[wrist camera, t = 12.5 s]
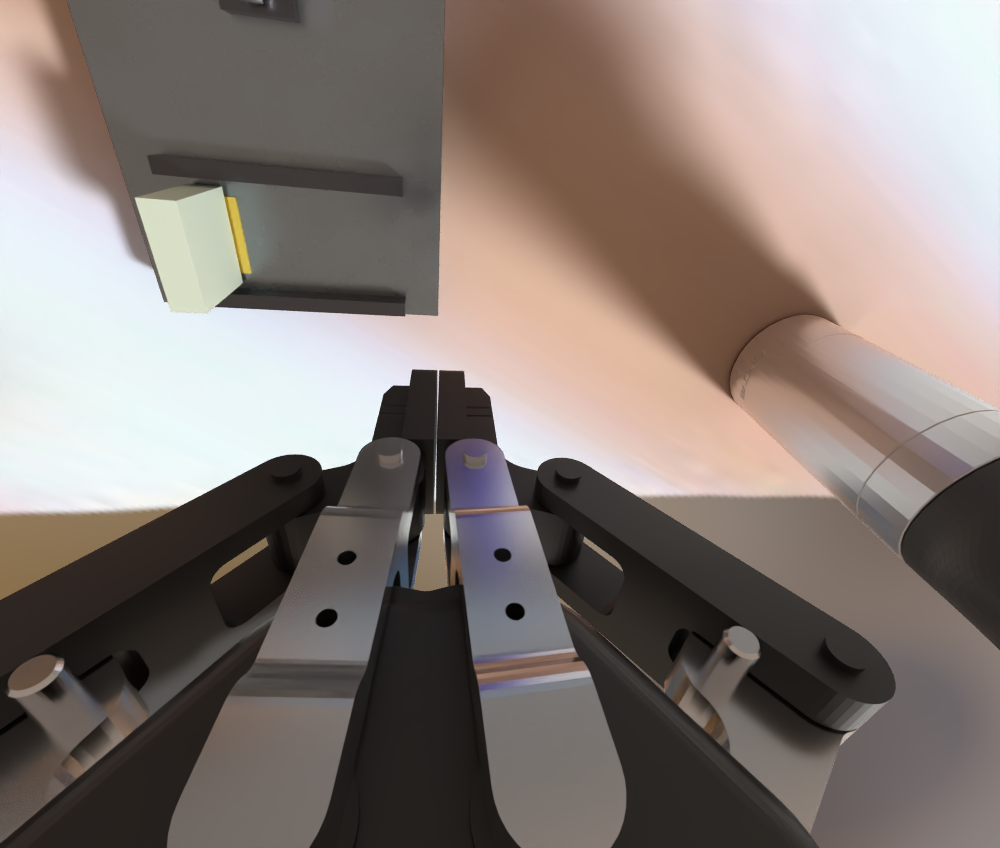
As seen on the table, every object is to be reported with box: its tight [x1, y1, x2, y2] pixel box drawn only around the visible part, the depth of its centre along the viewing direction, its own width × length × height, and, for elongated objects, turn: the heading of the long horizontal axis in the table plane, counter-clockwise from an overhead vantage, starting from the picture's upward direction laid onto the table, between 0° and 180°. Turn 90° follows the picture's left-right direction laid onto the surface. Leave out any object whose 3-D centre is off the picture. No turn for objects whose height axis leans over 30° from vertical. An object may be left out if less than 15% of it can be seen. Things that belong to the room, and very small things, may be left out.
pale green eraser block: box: [135, 184, 243, 313], centre depth 22 cm, size 2×5×5 cm, turn 174°
